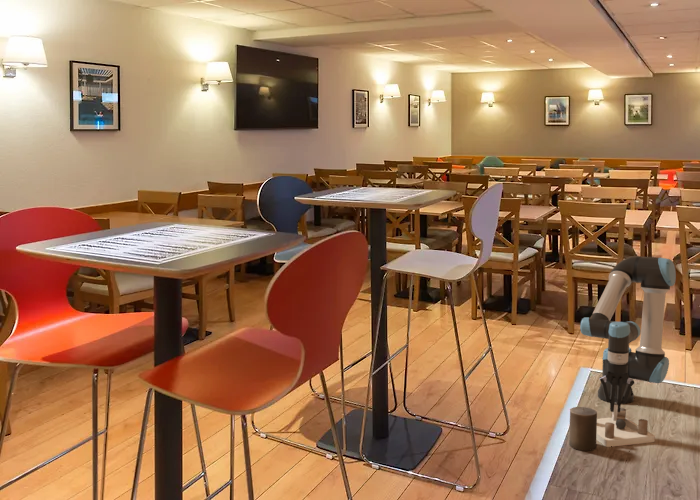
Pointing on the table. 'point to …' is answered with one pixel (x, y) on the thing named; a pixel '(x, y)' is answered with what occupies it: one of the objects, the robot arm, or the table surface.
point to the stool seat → (622, 433)
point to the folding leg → (621, 419)
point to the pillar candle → (583, 428)
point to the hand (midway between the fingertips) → (614, 419)
